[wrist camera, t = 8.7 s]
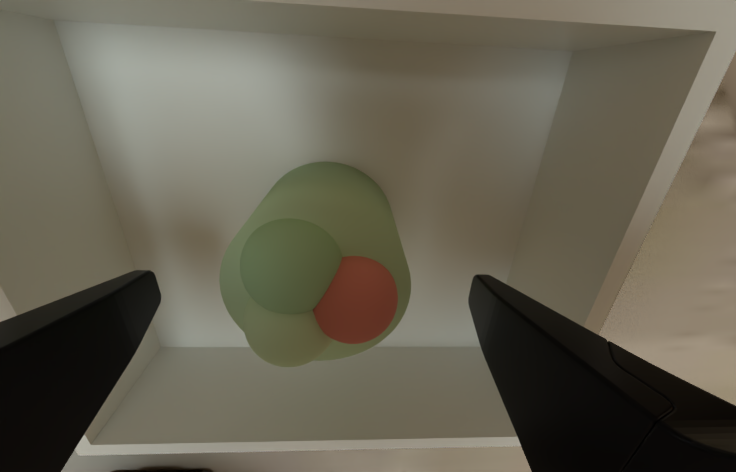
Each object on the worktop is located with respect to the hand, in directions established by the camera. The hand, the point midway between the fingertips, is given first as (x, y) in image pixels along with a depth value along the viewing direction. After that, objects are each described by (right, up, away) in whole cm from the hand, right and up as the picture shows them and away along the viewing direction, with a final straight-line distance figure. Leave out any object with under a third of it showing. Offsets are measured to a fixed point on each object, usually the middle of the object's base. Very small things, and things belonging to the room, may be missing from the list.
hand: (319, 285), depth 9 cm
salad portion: (0, +2, +4) cm, 4 cm away
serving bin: (0, +2, +4) cm, 5 cm away
